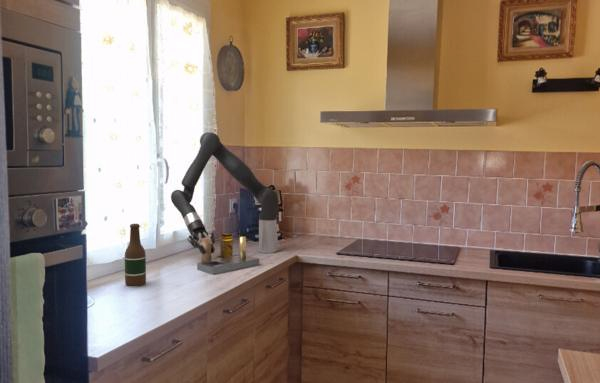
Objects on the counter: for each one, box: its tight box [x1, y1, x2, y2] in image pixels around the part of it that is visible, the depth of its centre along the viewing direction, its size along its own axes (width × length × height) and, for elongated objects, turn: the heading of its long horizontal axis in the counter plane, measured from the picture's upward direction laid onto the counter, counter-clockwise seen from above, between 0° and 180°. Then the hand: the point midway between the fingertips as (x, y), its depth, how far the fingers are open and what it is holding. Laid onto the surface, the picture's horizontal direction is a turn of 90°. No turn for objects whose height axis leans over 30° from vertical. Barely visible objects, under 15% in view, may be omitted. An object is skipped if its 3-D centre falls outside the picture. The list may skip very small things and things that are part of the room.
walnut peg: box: [201, 238, 212, 262], centre depth 221 cm, size 4×4×12 cm
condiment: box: [213, 232, 234, 259], centre depth 236 cm, size 7×8×12 cm
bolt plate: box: [196, 236, 260, 275], centre depth 215 cm, size 26×12×13 cm, turn 136°
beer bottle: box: [124, 223, 147, 287], centre depth 185 cm, size 8×8×24 cm
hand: (208, 252), depth 220 cm, fingers closed on walnut peg, 4 cm apart
